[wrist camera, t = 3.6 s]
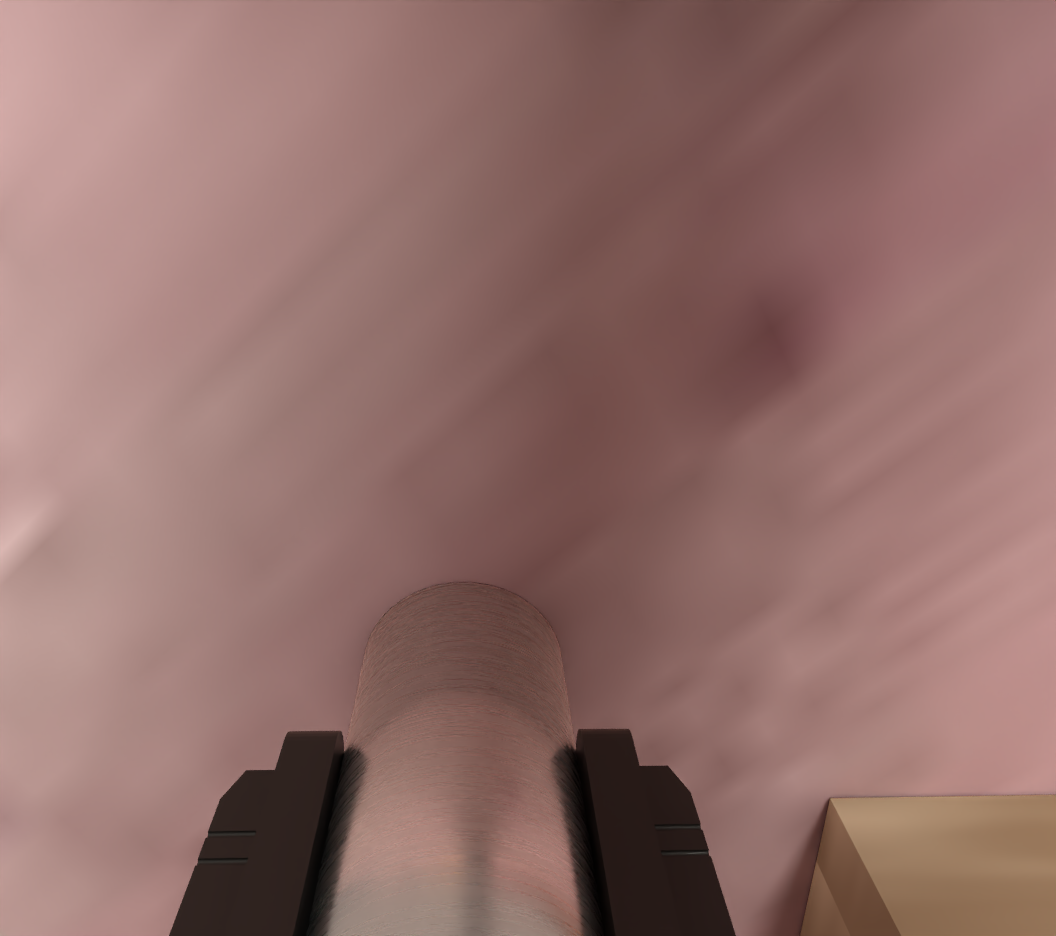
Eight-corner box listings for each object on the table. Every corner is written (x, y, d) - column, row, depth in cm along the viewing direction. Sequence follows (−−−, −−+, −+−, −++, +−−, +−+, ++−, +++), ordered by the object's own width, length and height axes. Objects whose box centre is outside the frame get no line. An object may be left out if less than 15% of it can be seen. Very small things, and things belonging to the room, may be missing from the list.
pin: (359, 582, 14) (157, 1383, 5) (566, 582, 14) (716, 1351, 5) (367, 747, 15) (217, 1615, 6) (557, 746, 15) (662, 1581, 7)
